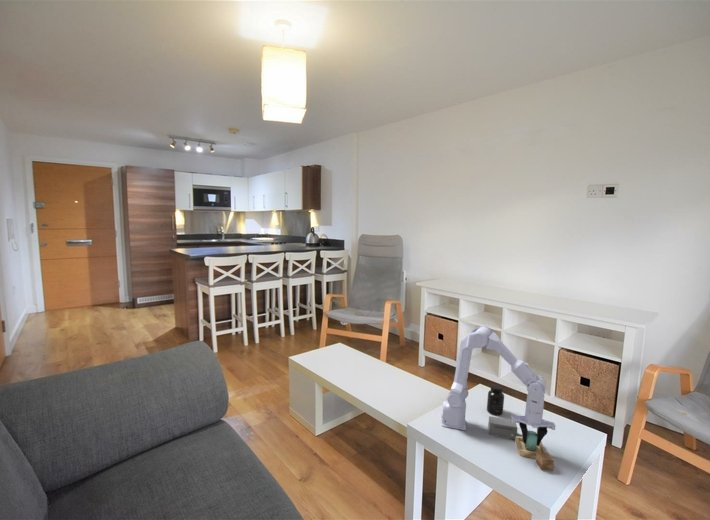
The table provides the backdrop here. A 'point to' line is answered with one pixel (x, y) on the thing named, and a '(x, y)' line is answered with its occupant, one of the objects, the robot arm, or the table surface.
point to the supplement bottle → (495, 400)
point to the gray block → (502, 427)
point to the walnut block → (544, 461)
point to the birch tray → (525, 451)
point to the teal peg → (531, 440)
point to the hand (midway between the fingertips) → (530, 443)
